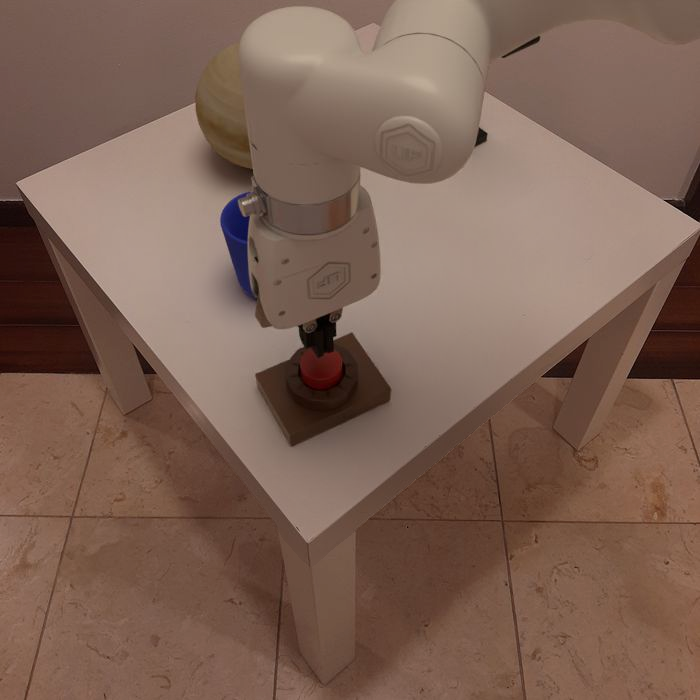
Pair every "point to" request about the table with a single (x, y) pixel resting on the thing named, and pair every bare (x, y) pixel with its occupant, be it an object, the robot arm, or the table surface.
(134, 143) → the table surface
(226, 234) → the mug
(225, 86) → the decorative ball
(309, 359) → the power button
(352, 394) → the button block
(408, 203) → the table surface
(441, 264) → the table surface
